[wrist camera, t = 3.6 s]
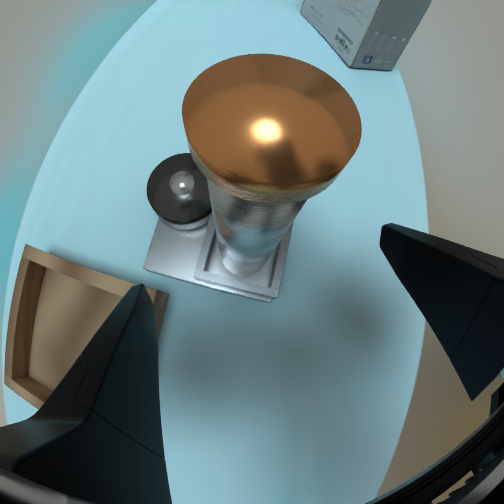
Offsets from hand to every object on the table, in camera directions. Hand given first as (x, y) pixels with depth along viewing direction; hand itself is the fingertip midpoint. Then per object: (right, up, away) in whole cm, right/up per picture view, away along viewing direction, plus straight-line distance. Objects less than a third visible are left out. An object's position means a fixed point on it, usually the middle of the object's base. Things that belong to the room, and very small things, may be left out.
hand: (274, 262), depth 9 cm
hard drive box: (+12, +31, +19) cm, 38 cm away
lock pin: (-1, 0, +9) cm, 9 cm away
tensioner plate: (-4, +2, +11) cm, 11 cm away
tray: (-14, -7, +8) cm, 17 cm away
